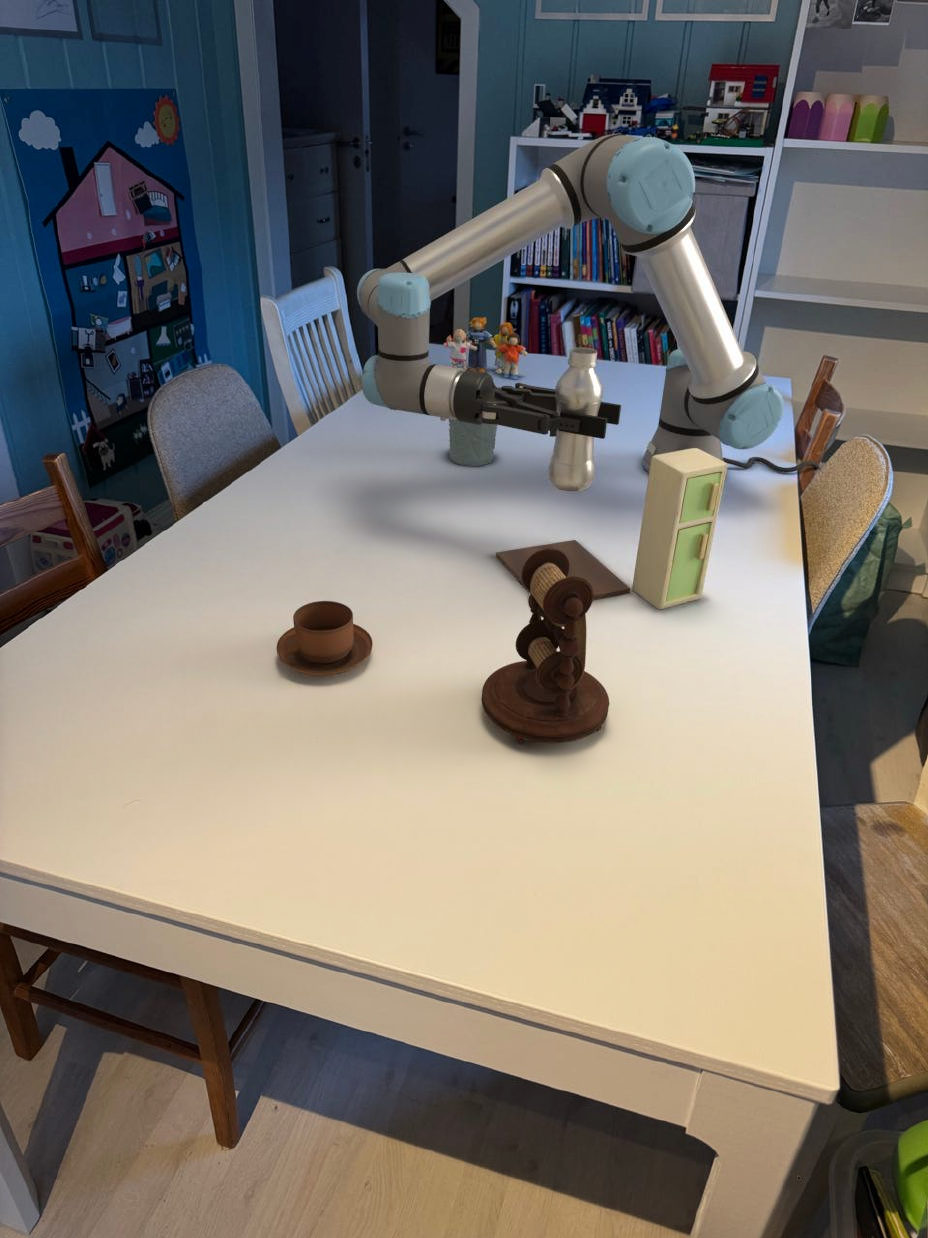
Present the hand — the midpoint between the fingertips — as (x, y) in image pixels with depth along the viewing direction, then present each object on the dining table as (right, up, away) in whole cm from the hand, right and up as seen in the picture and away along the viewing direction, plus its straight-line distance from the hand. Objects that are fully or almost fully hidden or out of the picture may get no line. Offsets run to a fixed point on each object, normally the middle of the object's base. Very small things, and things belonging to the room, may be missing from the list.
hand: (612, 421), depth 123 cm
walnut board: (-6, -21, +11) cm, 24 cm away
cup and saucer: (-38, -32, -10) cm, 51 cm away
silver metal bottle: (-5, -8, +8) cm, 12 cm away
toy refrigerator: (+9, -24, +6) cm, 27 cm away
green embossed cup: (-19, +4, +52) cm, 55 cm away
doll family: (-15, +36, +104) cm, 111 cm away
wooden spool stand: (-11, -39, -19) cm, 44 cm away
